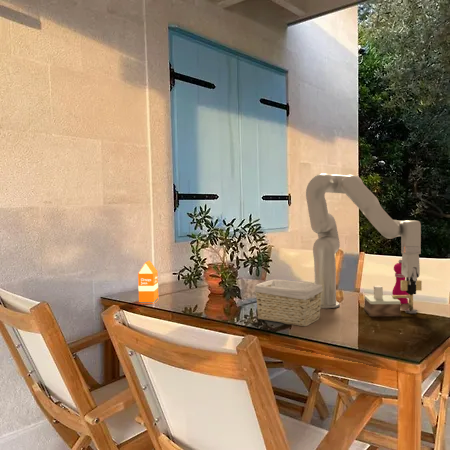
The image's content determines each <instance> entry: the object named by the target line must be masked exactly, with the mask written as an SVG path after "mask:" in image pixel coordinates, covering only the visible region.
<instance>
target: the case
mask: <svg viewBox="0 0 450 450" xmlns="http://www.w3.org/2000/svg"><path fill="white" fill-rule="evenodd" d="M363 301H364V304H363V305H364V307H363V310H364V311H365V312H366V313H367V315H369V317H402V314H401V304H370V303H369V302H368V301H367V300H366V299H365V298H364V300H363Z"/></svg>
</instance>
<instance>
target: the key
mask: <svg viewBox="0 0 450 450" xmlns="http://www.w3.org/2000/svg"><path fill="white" fill-rule="evenodd" d="M422 283H423V281H422V280H421V279H417V281H416V291H422V289H423V288H422V287H423V286H422ZM408 284H409V280H406V279H405V280H401V290H402V291H408ZM392 297H393V298H407V299H408V309H409V310H413V309H414V294H409V295H393V294H392Z"/></svg>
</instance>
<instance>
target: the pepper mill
mask: <svg viewBox="0 0 450 450" xmlns="http://www.w3.org/2000/svg"><path fill="white" fill-rule="evenodd" d="M401 268H402V259H399V260H398V262H397V263H395V264H394V266H393V271H394V272H395V273H394V277H395V284H394V286H393V288H392V291H391V294H392V295H409V294H408V293H406V291H402V290H401V280H406V277H405V276H403V275H402V273H401ZM397 299H398V300H399V301H400V305H406V304H409V298H397Z"/></svg>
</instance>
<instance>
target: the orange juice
mask: <svg viewBox="0 0 450 450" xmlns="http://www.w3.org/2000/svg"><path fill="white" fill-rule="evenodd" d="M158 273H159V272H158V269H156V267H155V266H154V264H153V263H152V262H151V260H148V261H145V262H144V263H143V266H142V267H141V269H140V270H139V272H138V273H137V278H138V279H137V281H138V283H137V284H138V285H137V287H138V303H139V302H154V301H155V300H156V299H157V298H158V299H159V277H158Z"/></svg>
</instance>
